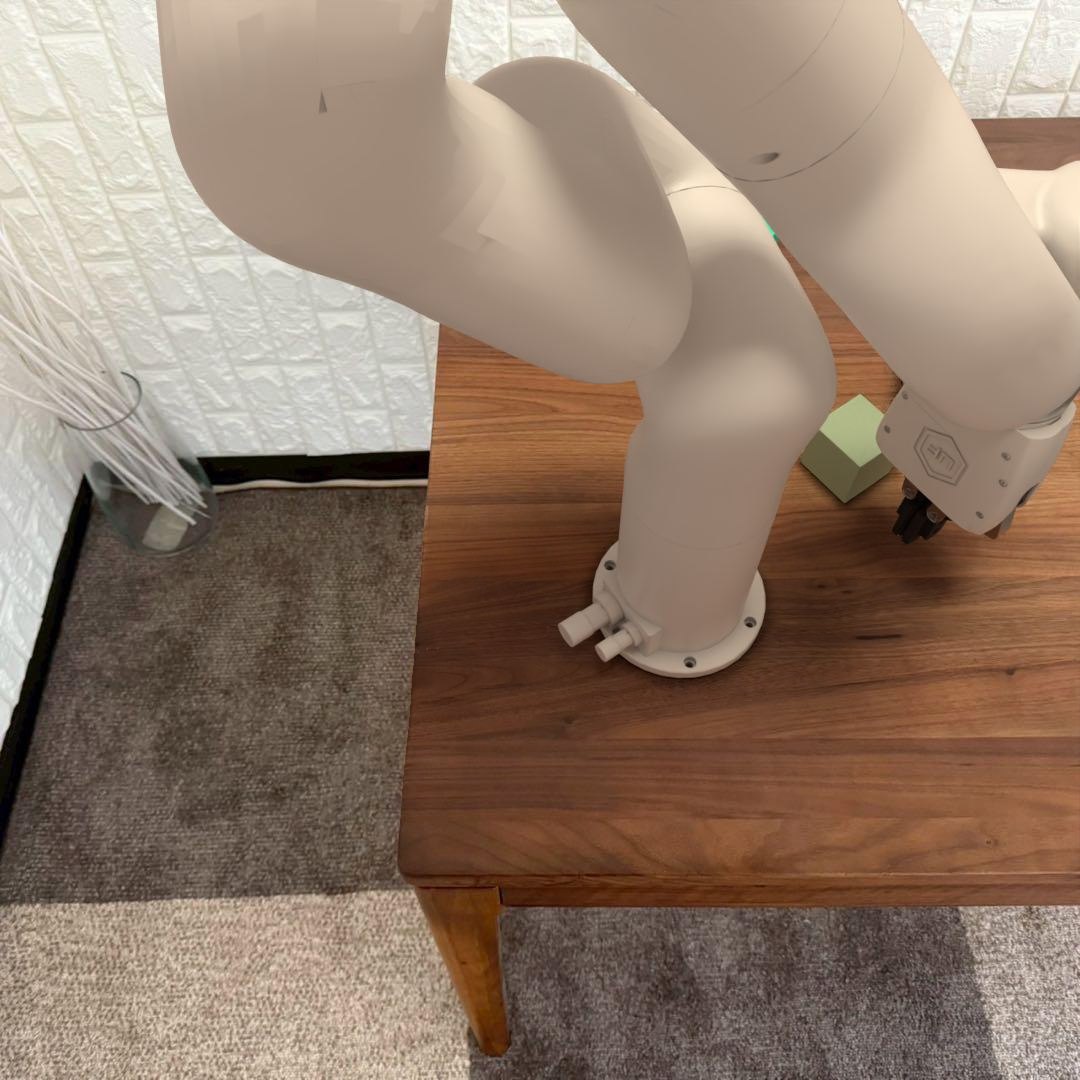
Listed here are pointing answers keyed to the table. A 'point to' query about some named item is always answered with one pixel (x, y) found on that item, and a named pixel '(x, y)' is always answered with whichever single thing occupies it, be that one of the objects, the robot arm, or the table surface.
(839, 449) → the sage block
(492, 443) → the table surface
